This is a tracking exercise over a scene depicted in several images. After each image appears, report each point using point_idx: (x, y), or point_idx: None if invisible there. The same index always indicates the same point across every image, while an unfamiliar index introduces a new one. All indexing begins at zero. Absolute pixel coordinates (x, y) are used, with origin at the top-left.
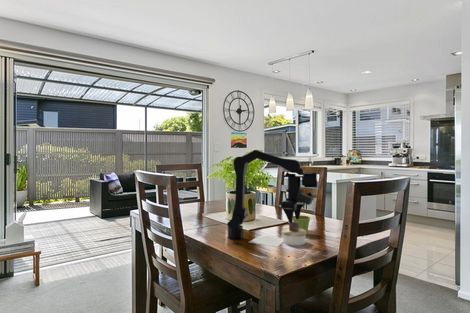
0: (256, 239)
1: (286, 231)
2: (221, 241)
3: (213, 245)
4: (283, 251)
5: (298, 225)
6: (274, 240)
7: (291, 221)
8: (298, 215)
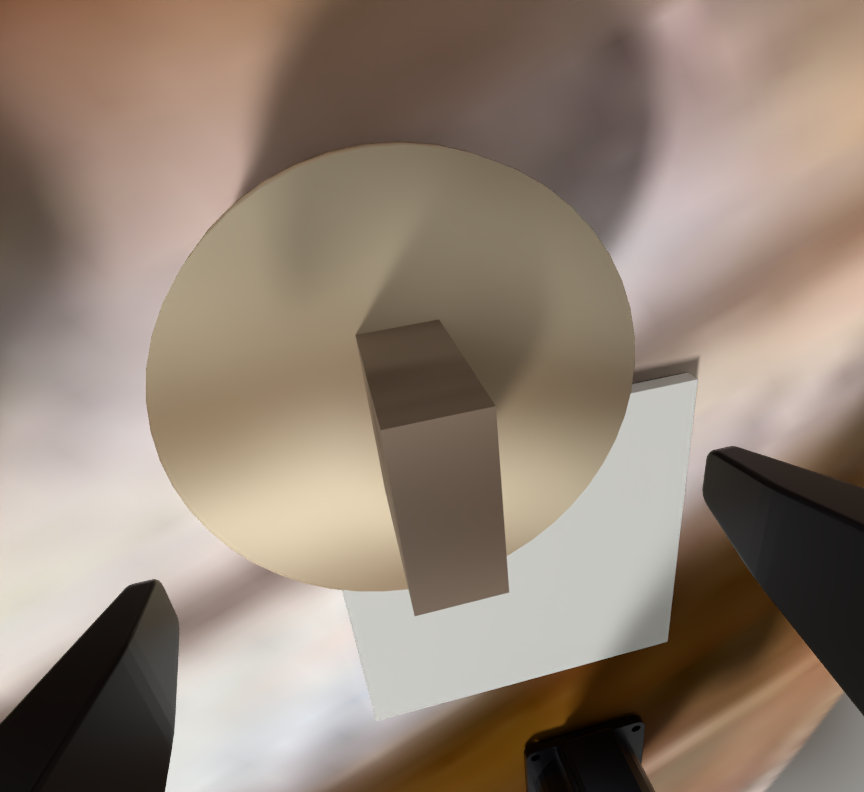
0: (550, 653)
1: (542, 469)
2: (695, 760)
3: (802, 725)
4: (770, 248)
5: (402, 381)
6: None
7: (778, 471)
8: (123, 686)
